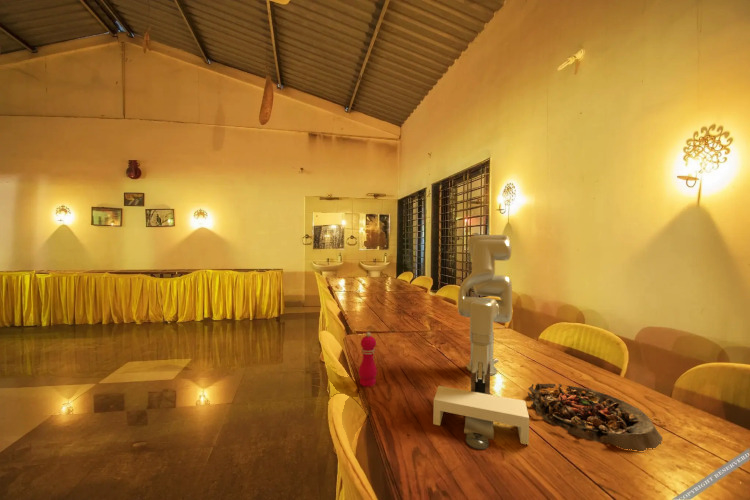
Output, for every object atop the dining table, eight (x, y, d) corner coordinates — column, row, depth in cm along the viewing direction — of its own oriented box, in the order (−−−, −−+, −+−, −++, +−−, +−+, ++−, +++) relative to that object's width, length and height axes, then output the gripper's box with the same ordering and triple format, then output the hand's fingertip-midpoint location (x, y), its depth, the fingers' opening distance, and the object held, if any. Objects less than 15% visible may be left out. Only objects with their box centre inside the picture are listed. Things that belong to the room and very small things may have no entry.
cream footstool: (438, 408, 101) (438, 385, 101) (524, 425, 92) (524, 400, 92) (433, 424, 91) (433, 399, 91) (528, 445, 82) (529, 417, 82)
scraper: (468, 400, 106) (468, 358, 106) (492, 405, 103) (493, 361, 103) (463, 432, 87) (465, 381, 87) (493, 439, 84) (494, 386, 84)
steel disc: (475, 434, 87) (475, 430, 87) (493, 445, 82) (493, 441, 82) (461, 441, 84) (461, 436, 84) (479, 453, 79) (479, 449, 79)
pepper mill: (374, 388, 114) (375, 335, 114) (356, 386, 116) (357, 334, 116) (378, 380, 121) (379, 330, 121) (360, 378, 123) (361, 329, 123)
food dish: (505, 404, 107) (506, 381, 107) (567, 390, 120) (567, 370, 120) (618, 467, 75) (618, 435, 75) (686, 438, 88) (686, 411, 88)
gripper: (470, 330, 112) (469, 379, 112) (468, 343, 97) (467, 400, 97) (492, 332, 109) (491, 383, 109) (493, 346, 94) (492, 404, 94)
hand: (480, 390), depth 103 cm, fingers closed on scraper, 3 cm apart
